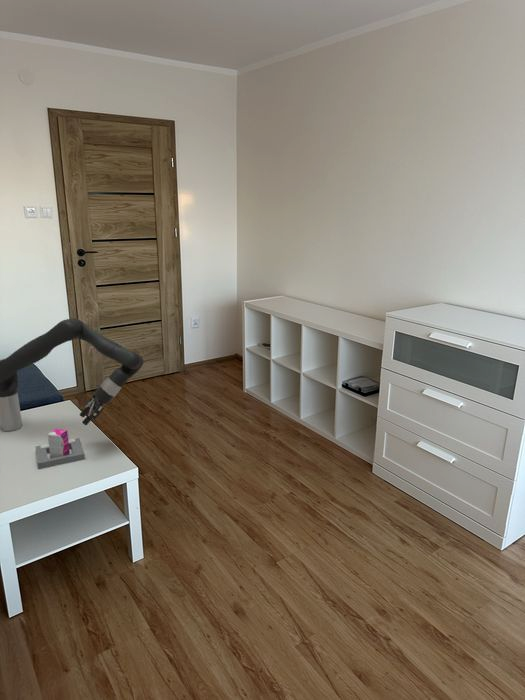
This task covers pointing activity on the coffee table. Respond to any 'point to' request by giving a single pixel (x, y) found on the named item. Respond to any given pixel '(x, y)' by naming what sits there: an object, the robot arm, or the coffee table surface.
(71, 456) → the divided tray
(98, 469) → the coffee table surface
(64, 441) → the supplement box
